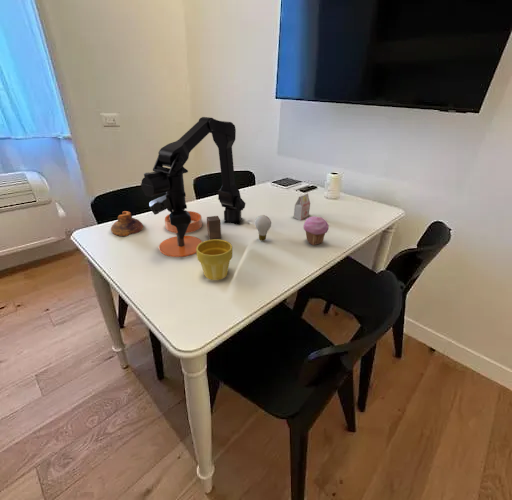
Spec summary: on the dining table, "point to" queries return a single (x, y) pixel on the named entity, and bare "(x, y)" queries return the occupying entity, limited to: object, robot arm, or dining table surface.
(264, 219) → the light bulb
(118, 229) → the bell
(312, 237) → the cupcake
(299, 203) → the white milk carton
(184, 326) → the dining table surface
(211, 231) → the block
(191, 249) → the lid
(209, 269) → the flower pot
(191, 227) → the pot
